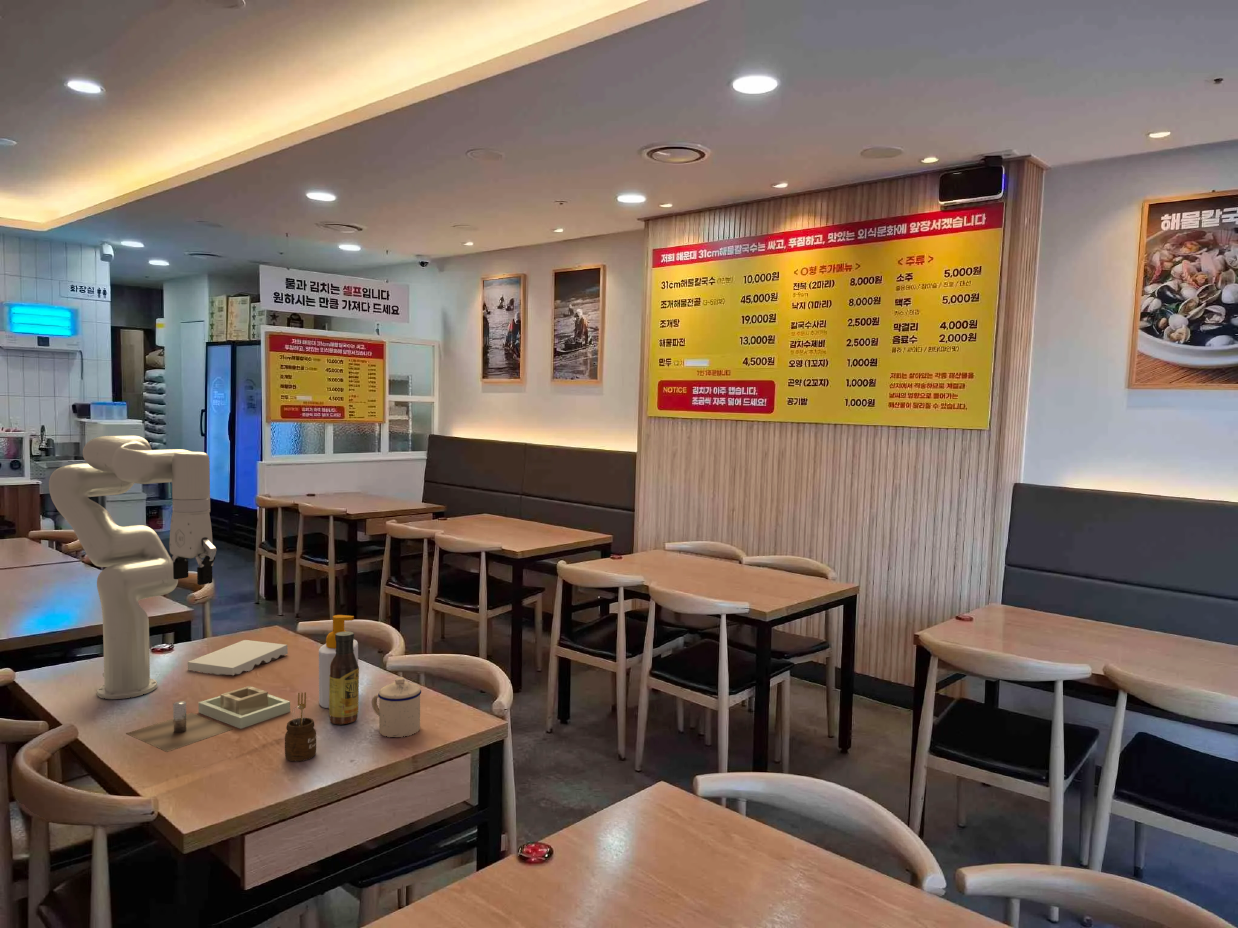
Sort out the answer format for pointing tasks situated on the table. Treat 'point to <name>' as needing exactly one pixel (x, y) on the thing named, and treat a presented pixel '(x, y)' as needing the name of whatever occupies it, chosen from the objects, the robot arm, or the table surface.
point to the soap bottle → (331, 657)
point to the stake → (179, 717)
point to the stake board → (168, 740)
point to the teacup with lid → (398, 708)
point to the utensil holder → (300, 736)
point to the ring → (244, 700)
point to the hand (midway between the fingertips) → (192, 581)
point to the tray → (241, 721)
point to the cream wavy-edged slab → (238, 657)
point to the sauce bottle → (344, 681)
